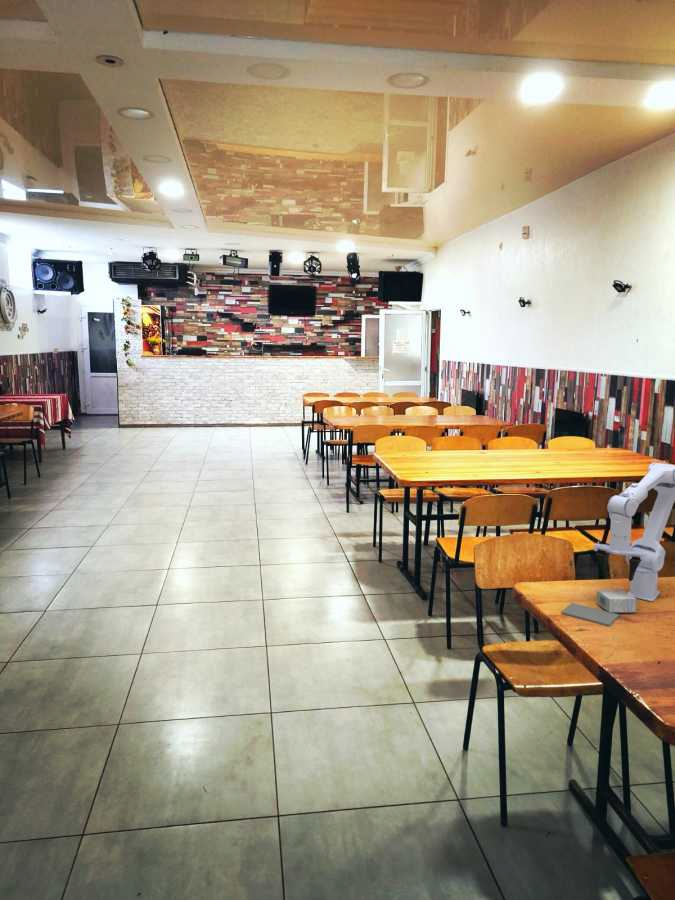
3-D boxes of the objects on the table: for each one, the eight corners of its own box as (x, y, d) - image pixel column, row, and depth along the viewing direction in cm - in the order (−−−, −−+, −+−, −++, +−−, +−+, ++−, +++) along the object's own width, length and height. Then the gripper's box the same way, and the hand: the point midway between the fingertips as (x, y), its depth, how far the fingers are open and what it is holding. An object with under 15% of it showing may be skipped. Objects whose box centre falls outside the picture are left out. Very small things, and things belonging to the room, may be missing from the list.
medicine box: (608, 612, 180) (636, 613, 180) (609, 598, 179) (637, 598, 180) (596, 603, 188) (622, 603, 188) (597, 589, 187) (623, 589, 188)
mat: (571, 604, 188) (571, 602, 188) (618, 616, 179) (619, 614, 178) (561, 613, 181) (561, 611, 181) (609, 626, 172) (609, 624, 172)
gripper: (591, 533, 184) (589, 575, 186) (642, 542, 175) (639, 586, 177) (599, 528, 190) (596, 569, 192) (648, 536, 180) (645, 579, 182)
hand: (617, 577), depth 185 cm, fingers open, 7 cm apart
